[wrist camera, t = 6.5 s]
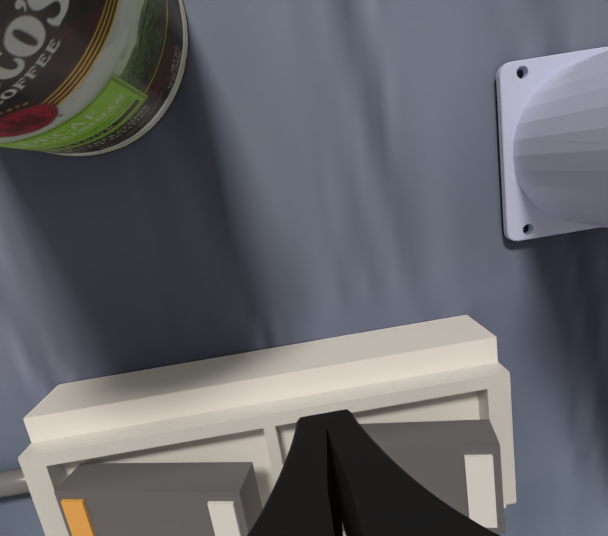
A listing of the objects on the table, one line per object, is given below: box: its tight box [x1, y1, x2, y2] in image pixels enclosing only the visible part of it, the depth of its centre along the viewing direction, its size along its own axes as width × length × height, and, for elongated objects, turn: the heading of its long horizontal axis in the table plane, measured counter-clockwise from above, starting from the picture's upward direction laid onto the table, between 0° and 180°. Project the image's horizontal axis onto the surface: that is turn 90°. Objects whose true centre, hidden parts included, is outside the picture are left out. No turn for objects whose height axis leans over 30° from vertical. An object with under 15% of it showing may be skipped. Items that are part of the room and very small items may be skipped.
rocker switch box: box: [0, 315, 516, 536], centre depth 20 cm, size 27×9×4 cm, turn 99°
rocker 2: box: [342, 419, 505, 534], centre depth 18 cm, size 8×4×2 cm, turn 99°
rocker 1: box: [54, 462, 263, 536], centre depth 17 cm, size 8×4×2 cm, turn 99°
